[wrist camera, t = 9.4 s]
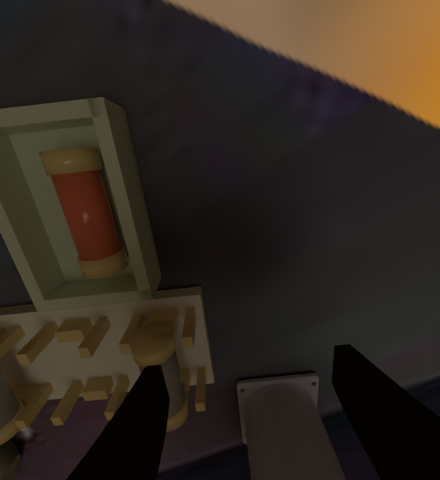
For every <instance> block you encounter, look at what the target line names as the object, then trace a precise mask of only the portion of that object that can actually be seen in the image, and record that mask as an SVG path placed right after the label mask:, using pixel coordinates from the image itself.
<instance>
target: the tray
mask: <svg viewBox="0 0 440 480" xmlns="http://www.w3.org/2000/svg"><path fill="white" fill-rule="evenodd" d="M69 148H97V149H98V153H99V156H100V160H101V164H102V167H103V169H101V174H102V177H103V181H104V185H105V188H106V192H107V195H108V199H109V203H110V206H111V210H112V214H113V217H114V221H115V224H116V228H117V232H118V235H119V239H120V243H121V245H123V246H124V248H125V252H126V256H127V259H128V266H127V267H126V268H125V269H124V270H122V271H120V272H119V273H116V274H114V275H112V276H109V277H105V278H101V279H86V278H84V277H83V275H82V272H81V270H80V267H79V264H78V261H77V257H78V253H77V250H76V247H75V245H74V242H73V239H72V236H71V233H70V230H69V228H68V225H67V222H66V219H65V216H64V213H63V211H62V208H61V205H60V202H59V199H58V196H57V194H56V191H55V188H54V185H53V182H52V179H51V177H50V175H48V176H47V175H46V172H45V169H44V166H43V163H42V161H41V158H40V155H39V152H42V151H49V150H57V149H69ZM0 233H1V235H2V237H3V239H4V241H5V243H6V245H7V248H8V250H9V252H10V254H11V256H12V258H13V260H14V263H15V265H16V267H17V269H18V271H19V273H20V275H21V278H22V280H23V282H24V284H25V286H26V288H27V290H28V293H29V295H30V297H31V299H32V301H33V303H34V305H35V308H36V310H37V311H46V310H56V309H65V308H75V307H84V306H94V305H103V304H113V303H122V302H132V301H142V300H151V299H153V297H154V295H155V293H156V290H157V288H158V286H159V283H160V281H161V279H162V275H161V270H160V266H159V261H158V257H157V252H156V248H155V243H154V238H153V234H152V229H151V225H150V220H149V216H148V211H147V207H146V202H145V198H144V193H143V189H142V184H141V179H140V175H139V170H138V166H137V161H136V157H135V152H134V148H133V143H132V139H131V134H130V130H129V125H128V121H127V116H126V111H125V109H124V108H123V107H121V106H119V105H117V104H115V103H113V102H111V101H109V100H107V99H106V98H104V97H99V98H90V99H82V100H73V101H64V102H56V103H47V104H39V105H30V106H21V107H13V108H4V109H0Z"/></svg>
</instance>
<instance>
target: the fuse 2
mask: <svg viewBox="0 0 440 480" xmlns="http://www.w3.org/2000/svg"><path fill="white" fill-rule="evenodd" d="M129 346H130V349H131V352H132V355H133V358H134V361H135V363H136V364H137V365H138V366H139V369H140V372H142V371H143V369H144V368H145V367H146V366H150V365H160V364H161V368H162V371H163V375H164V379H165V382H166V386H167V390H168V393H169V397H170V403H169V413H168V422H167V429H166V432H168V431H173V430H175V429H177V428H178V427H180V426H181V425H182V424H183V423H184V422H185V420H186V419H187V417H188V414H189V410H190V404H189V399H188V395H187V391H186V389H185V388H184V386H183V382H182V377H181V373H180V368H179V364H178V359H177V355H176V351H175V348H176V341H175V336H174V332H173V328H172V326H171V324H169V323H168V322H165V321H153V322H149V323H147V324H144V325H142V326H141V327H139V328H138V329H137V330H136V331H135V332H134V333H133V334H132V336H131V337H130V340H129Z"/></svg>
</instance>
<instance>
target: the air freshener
mask: <svg viewBox="0 0 440 480" xmlns="http://www.w3.org/2000/svg"><path fill="white" fill-rule="evenodd" d="M20 458H21V455H20V453H19V451H18V449H17V447H16V446H15V444H14V443H13V442H12V441H11V440H10V439H9V440H8V441H6V442H5V443H3V444H1V445H0V480H12V478H13V476H14V474H15V472H16V469H17V467H18V464H19V461H20Z"/></svg>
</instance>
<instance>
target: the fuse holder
mask: <svg viewBox="0 0 440 480" xmlns="http://www.w3.org/2000/svg"><path fill="white" fill-rule="evenodd" d="M153 321H165V322H168V323H169V324H171V326H172V328H173V332H174V336H175V341H176V348H175V351H176V355H177V359H178V364H179V368H180V373H181V377H182V382H183V386H184V388H185V389H186V391H189V390H190V385H196V397H195V406H196V411H197V412H198V411H206V384H210V383H214V367H213V360H212V354H211V347H210V341H209V335H208V328H207V322H206V315H205V309H204V302H203V296H202V289H201V286H199V287H189V288H180V289H170V290H161V291H156V293H155V295H154V297H153V299H151V300H142V301H132V302H122V303H113V304H103V305H94V306H84V307H75V308H65V309H56V310H46V311H37V310H36V308H35V305H34V304H28V305H18V306H9V307H0V371H1V373H2V375H3V376H4V378H5V380H6V381H7V383H8V385H9V386H10V388H11V390H12V391H13V393H14V395H15V396H16V398H17V399H20V400H21V401H22V403H23V404H24V406H25V408H24V409H23V411H22V412H21V413H20V415H19V416H18V417H17V419H16V420H15V421H14V422H15V424H16V425H17V427H18V428H19V429H25V428H28V427H29V426H30V424H31V423H32V421H33V420H34V418H35V417H36V416H37V414H38V413H39V411H40V410H41V408H42V407H43V405H44V404H45V402H46V401H47V400H50V399H60V398H62V400H61V401H60V403H59V405H58V406H57V408H56V409H55V411H54V413H53V414H52V416H51V417H50V419H51V421H52V422H53V424H54V426H56V425H63V424H64V422H65V421H66V419H67V417H68V415H69V413H70V412H71V410H72V408H73V406H74V404H75V403H76V401H77V399H78V397H80V396H83V398H84V400H85V401H90V400H100V399H108V398H109V396H110V393H112V396H111V398H110V400H109V403H108V405H107V407H106V410H105V412H104V413H105V416H106V418H107V420H111V418H112V417H113V415H114V414H115V413H116V411H117V410H118V408H119V407H120V405H121V404H122V402H123V400H124V397H125V395H126V392H129V391H130V390H131V388H132V387H133V385H134V384H135V382H136V380H137V379H138V377H139V376H140V374H141V372H140V369H139V366H138V365H137V364H136V363H135V361H134V358H133V355H132V352H131V349H130V346H129V340H130V337H131V336H132V334H133V333H134V332H135V331H136V330H137V329H138V328H139V327H141V326H142V325H144V324H147V323H149V322H153Z"/></svg>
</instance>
